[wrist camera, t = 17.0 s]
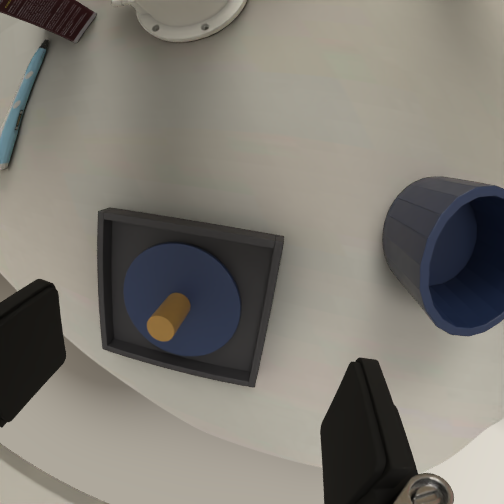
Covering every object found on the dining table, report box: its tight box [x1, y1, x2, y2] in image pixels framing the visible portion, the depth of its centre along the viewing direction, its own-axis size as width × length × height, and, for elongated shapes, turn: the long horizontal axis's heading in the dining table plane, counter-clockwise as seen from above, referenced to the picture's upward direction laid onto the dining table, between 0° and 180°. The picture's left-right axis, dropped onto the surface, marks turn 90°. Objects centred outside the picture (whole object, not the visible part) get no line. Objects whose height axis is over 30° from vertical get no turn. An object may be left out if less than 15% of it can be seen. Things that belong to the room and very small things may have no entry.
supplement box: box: [0, 0, 97, 43], centre depth 19 cm, size 9×5×16 cm, turn 53°
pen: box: [0, 38, 49, 170], centre depth 29 cm, size 19×3×3 cm, turn 153°
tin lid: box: [123, 242, 241, 356], centre depth 31 cm, size 14×14×7 cm
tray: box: [97, 208, 284, 387], centre depth 34 cm, size 20×18×2 cm
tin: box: [383, 177, 504, 336], centre depth 25 cm, size 13×13×10 cm
